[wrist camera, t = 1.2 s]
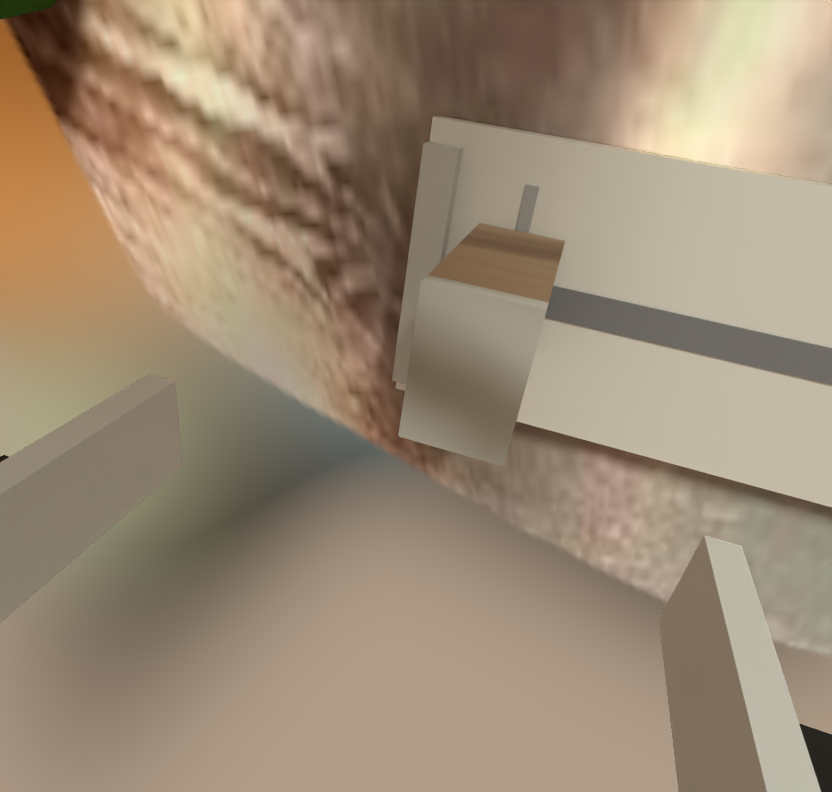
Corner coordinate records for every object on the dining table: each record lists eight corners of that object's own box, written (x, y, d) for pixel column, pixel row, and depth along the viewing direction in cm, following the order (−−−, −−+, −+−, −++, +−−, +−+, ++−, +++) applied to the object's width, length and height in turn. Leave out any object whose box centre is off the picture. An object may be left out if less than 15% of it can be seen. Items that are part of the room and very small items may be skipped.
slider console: (441, 116, 26) (426, 117, 24) (1220, 252, 20) (1292, 270, 18) (403, 377, 33) (389, 396, 31) (975, 530, 27) (1006, 566, 25)
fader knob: (479, 222, 26) (421, 281, 18) (565, 240, 25) (546, 310, 17) (457, 339, 29) (398, 436, 21) (532, 358, 28) (503, 466, 20)
